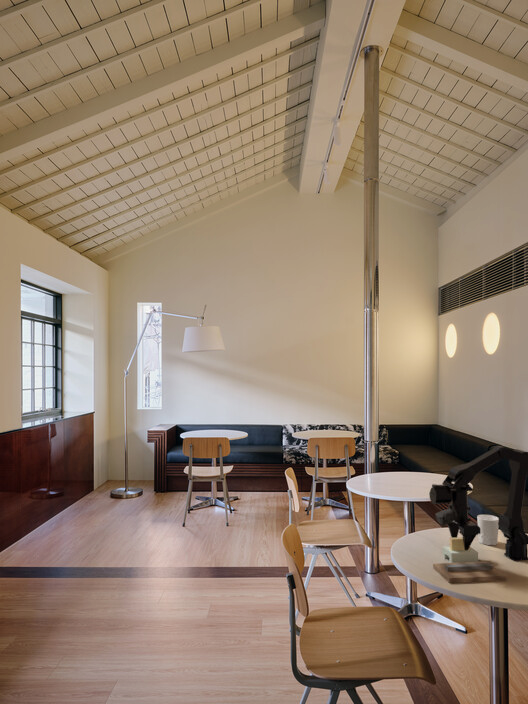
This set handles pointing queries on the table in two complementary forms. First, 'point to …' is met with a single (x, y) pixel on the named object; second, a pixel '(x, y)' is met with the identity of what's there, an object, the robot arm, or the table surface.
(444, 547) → the sage block
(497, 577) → the board
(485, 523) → the white cup
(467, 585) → the table surface
